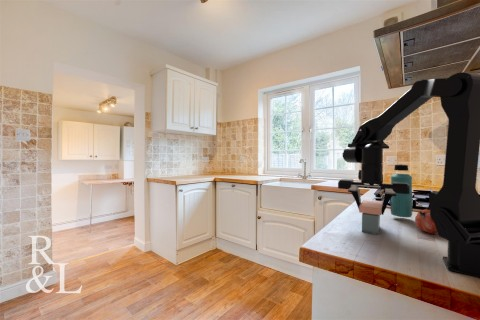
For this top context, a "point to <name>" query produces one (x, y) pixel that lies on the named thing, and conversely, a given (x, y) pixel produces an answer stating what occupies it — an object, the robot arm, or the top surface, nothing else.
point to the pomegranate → (425, 222)
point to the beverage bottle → (401, 202)
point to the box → (370, 223)
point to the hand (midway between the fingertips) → (371, 213)
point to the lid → (371, 207)
